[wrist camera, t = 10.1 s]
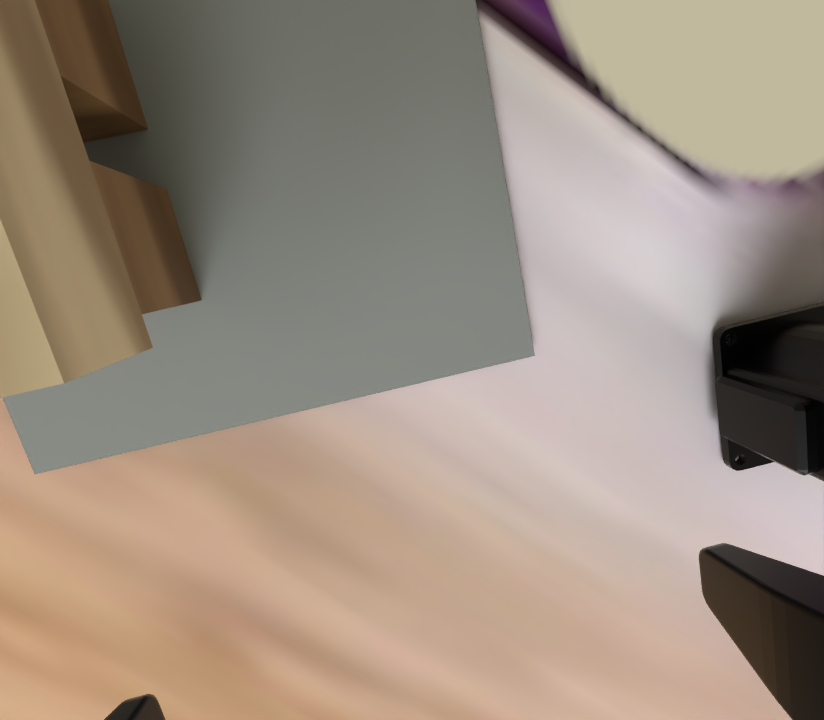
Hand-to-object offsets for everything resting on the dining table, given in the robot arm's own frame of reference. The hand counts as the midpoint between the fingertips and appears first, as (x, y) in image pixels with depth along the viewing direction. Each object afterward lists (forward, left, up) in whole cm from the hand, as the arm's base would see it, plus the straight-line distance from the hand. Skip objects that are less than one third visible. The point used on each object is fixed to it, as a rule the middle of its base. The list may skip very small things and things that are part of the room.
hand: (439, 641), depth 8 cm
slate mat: (+4, -10, -12) cm, 16 cm away
